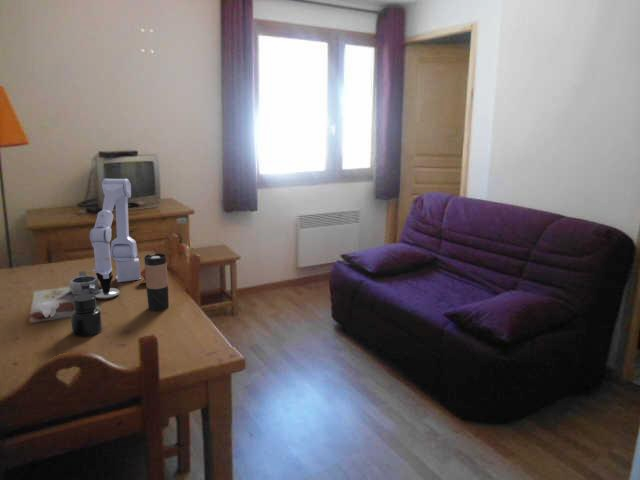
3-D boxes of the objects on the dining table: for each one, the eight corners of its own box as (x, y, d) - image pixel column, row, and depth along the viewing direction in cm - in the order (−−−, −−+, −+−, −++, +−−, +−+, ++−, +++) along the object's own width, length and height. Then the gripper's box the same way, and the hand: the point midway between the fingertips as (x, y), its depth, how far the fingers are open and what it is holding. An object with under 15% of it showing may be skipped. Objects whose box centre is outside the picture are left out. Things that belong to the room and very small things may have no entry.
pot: (96, 280, 216) (94, 269, 214) (100, 295, 199) (99, 283, 197) (70, 284, 211) (68, 272, 210) (72, 299, 194) (71, 287, 193)
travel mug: (163, 312, 183) (159, 259, 178) (144, 310, 184) (139, 258, 179) (173, 304, 190) (169, 254, 185) (154, 303, 192) (151, 252, 187)
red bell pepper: (143, 291, 210) (162, 276, 210) (131, 278, 209) (150, 263, 209) (147, 287, 217) (165, 273, 217) (136, 274, 216) (154, 260, 216)
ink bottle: (95, 323, 173) (92, 290, 170) (108, 330, 167) (105, 296, 164) (66, 332, 165) (62, 298, 162) (79, 340, 160) (75, 305, 157)
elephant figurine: (36, 321, 174) (34, 305, 172) (42, 312, 181) (40, 297, 180) (57, 319, 175) (55, 303, 174) (62, 311, 183) (60, 295, 181)
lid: (117, 290, 204) (116, 278, 203) (121, 298, 196) (119, 285, 195) (92, 294, 200) (90, 281, 198) (94, 302, 191) (93, 289, 190)
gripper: (90, 254, 198) (93, 286, 202) (93, 264, 186) (96, 298, 189) (109, 252, 201) (112, 284, 205) (113, 261, 189) (116, 295, 192)
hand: (106, 291), depth 197 cm, fingers closed on lid, 2 cm apart
